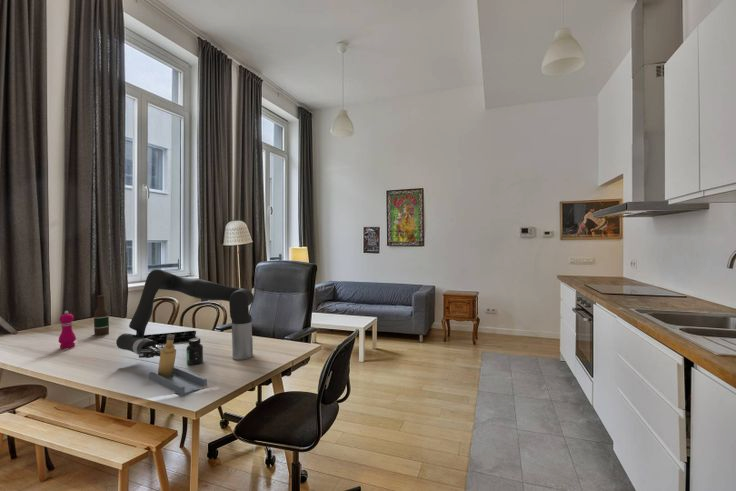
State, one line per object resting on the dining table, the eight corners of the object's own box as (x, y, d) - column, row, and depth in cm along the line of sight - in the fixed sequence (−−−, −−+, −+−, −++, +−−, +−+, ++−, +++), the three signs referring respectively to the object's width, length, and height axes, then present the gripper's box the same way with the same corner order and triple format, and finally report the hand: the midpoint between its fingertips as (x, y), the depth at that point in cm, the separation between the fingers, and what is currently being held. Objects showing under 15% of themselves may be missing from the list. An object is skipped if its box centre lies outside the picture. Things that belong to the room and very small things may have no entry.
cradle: (149, 381, 146) (148, 372, 146) (173, 373, 155) (173, 365, 154) (181, 396, 131) (181, 387, 131) (207, 387, 140) (206, 378, 139)
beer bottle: (97, 336, 216) (96, 296, 215) (91, 334, 220) (90, 295, 219) (111, 333, 222) (110, 295, 222) (106, 331, 226) (105, 294, 226)
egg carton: (198, 341, 204) (198, 334, 204) (136, 350, 189) (135, 343, 189) (195, 334, 219) (195, 328, 219) (137, 342, 204) (137, 335, 204)
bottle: (173, 370, 152) (179, 332, 149) (172, 378, 147) (177, 339, 144) (158, 370, 150) (163, 332, 146) (156, 378, 145) (162, 339, 141)
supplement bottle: (186, 368, 160) (185, 342, 160) (187, 363, 166) (186, 338, 166) (203, 366, 163) (202, 340, 162) (203, 361, 169) (202, 336, 169)
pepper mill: (78, 346, 196) (77, 310, 195) (63, 350, 189) (62, 312, 189) (71, 344, 199) (70, 309, 198) (55, 348, 192) (54, 311, 192)
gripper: (128, 342, 153) (146, 349, 143) (161, 335, 164) (180, 341, 154) (129, 360, 153) (147, 368, 143) (161, 351, 164) (180, 358, 154)
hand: (164, 354), depth 149 cm, fingers closed
